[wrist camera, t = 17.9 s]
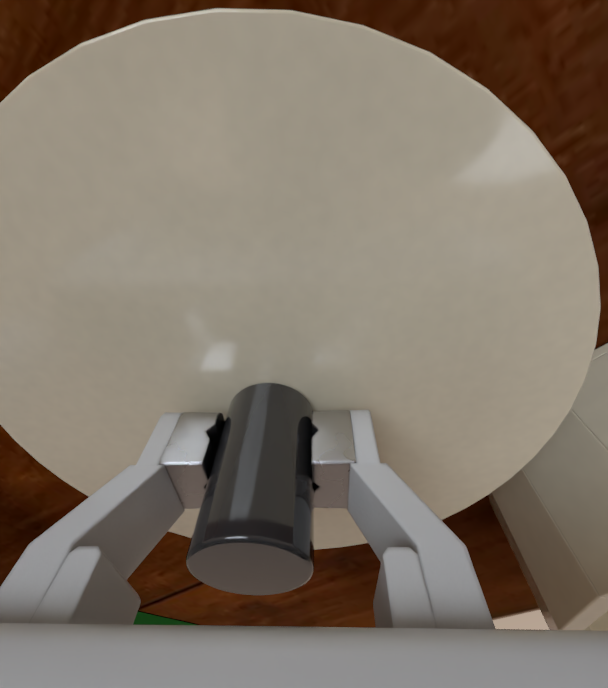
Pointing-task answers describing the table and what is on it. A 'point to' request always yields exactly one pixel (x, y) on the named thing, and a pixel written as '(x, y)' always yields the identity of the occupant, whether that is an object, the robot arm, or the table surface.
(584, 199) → the table surface
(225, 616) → the table surface
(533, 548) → the cream bowl
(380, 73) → the lid
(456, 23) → the table surface
